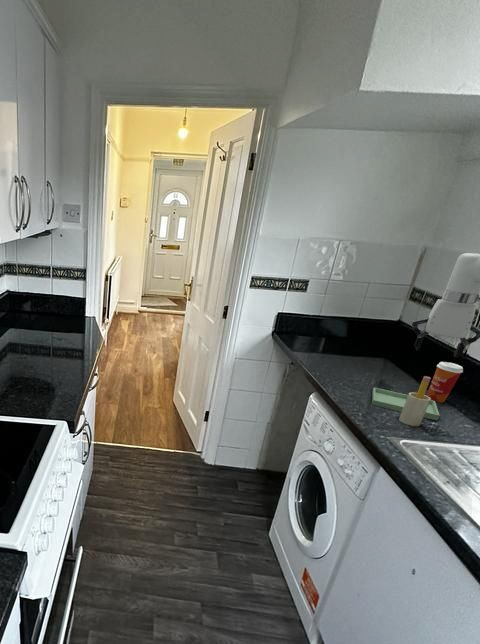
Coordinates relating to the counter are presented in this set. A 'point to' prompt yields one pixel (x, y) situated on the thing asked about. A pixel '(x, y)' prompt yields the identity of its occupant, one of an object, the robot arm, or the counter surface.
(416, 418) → the pen cup
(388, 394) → the tray
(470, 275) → the robot arm
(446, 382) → the paper cup
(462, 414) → the counter surface
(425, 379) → the pencil
